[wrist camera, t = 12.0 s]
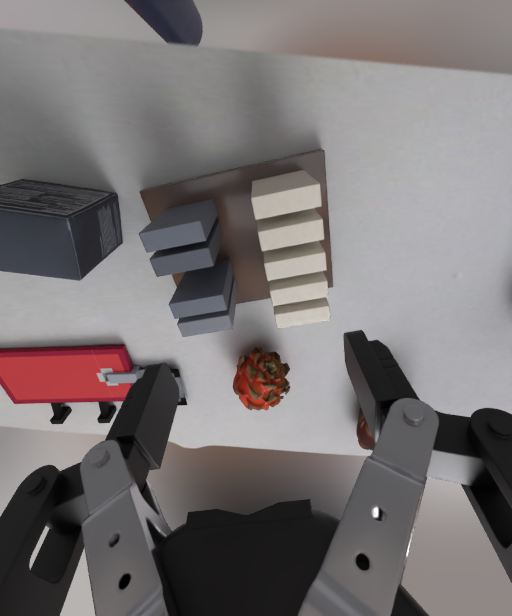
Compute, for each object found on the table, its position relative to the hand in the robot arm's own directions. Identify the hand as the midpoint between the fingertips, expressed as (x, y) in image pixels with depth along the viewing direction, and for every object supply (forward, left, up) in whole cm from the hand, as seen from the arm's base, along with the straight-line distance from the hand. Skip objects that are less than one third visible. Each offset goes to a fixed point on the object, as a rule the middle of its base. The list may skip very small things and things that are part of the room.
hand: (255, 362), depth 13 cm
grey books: (+2, -7, -23) cm, 24 cm away
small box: (-5, -21, -25) cm, 33 cm away
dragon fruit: (+23, -4, -25) cm, 34 cm away
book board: (+2, -2, -25) cm, 25 cm away
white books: (+2, +3, -23) cm, 24 cm away
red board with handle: (+21, -32, -25) cm, 46 cm away
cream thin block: (+2, +3, -23) cm, 24 cm away
